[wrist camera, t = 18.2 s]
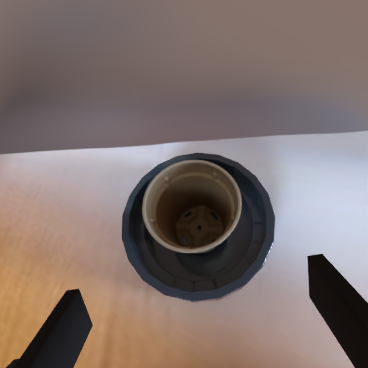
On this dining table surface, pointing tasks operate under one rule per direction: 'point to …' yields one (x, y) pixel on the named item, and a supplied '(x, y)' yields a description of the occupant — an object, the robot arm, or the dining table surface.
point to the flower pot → (191, 206)
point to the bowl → (215, 259)
